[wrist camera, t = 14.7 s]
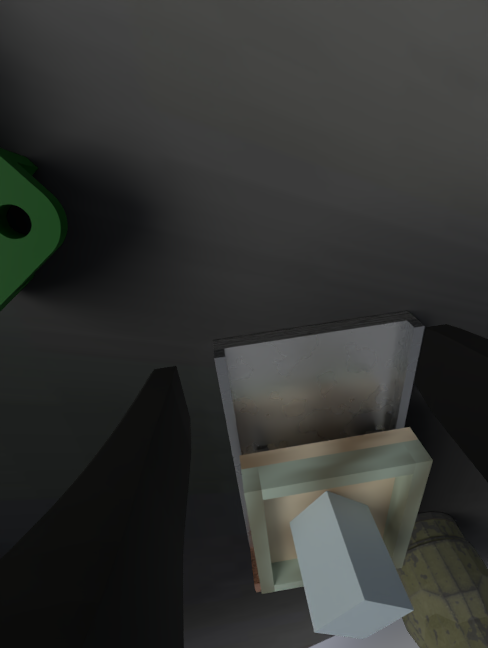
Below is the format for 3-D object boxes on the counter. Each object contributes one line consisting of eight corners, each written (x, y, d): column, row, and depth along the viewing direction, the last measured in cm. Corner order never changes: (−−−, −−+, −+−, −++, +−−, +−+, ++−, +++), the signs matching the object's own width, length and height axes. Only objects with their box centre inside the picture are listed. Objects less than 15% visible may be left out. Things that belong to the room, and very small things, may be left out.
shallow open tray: (394, 405, 23) (433, 460, 19) (376, 511, 30) (401, 567, 26) (236, 431, 23) (244, 492, 19) (253, 533, 29) (262, 593, 26)
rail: (407, 310, 21) (456, 353, 17) (373, 512, 32) (397, 565, 28) (213, 340, 20) (216, 391, 16) (249, 535, 31) (255, 592, 27)
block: (367, 505, 24) (414, 610, 19) (330, 534, 25) (364, 639, 20) (326, 490, 22) (364, 600, 17) (289, 522, 24) (314, 632, 19)
